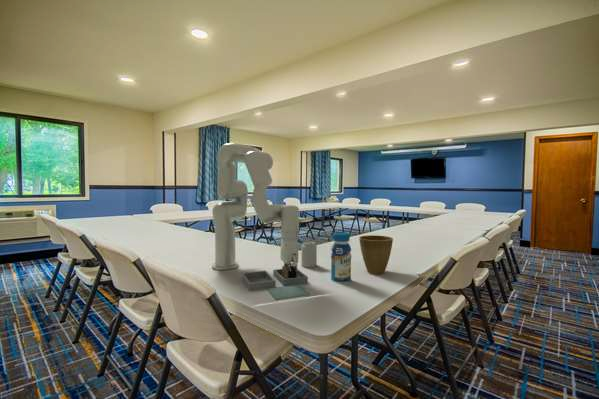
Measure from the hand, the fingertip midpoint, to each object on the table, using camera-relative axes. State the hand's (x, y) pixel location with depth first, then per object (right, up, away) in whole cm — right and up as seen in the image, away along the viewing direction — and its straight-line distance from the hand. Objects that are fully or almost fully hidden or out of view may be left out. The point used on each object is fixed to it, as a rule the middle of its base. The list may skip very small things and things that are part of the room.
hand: (289, 277), depth 118 cm
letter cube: (0, 0, 0) cm, 0 cm away
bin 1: (-13, -1, -5) cm, 14 cm away
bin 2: (0, -1, 0) cm, 1 cm away
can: (+9, 0, +20) cm, 22 cm away
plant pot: (+39, -1, +12) cm, 41 cm away
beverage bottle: (+21, -1, -1) cm, 21 cm away
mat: (0, -2, -15) cm, 15 cm away
